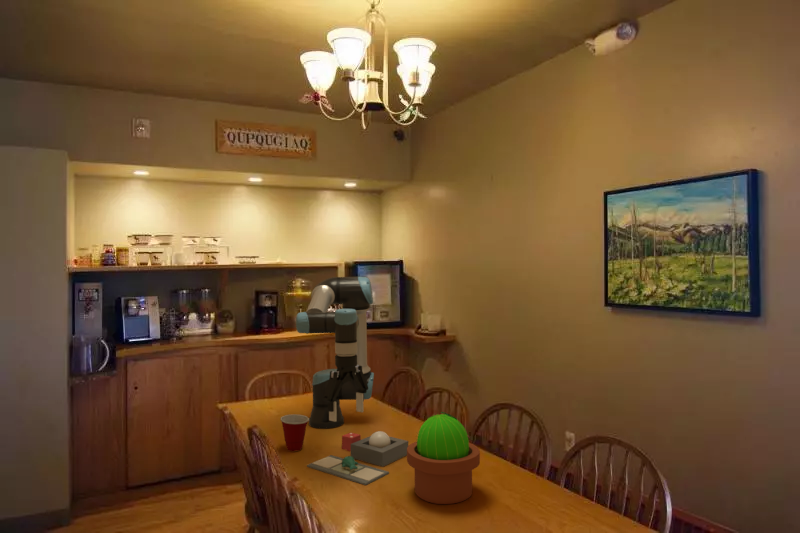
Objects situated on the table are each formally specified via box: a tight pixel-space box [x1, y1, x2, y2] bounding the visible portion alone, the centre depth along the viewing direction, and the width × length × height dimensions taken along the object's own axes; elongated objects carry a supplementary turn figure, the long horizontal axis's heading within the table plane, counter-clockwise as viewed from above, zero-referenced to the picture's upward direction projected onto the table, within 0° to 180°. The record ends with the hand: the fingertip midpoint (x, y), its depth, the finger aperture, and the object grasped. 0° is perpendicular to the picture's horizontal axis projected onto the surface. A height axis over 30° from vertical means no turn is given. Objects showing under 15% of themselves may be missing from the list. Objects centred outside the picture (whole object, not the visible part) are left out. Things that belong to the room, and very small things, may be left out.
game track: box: [306, 454, 390, 486], centre depth 194 cm, size 12×27×1 cm, turn 53°
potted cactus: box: [406, 411, 481, 505], centre depth 175 cm, size 22×22×25 cm
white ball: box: [369, 430, 391, 449], centre depth 207 cm, size 8×8×8 cm
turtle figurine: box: [342, 455, 359, 471], centre depth 193 cm, size 6×7×4 cm
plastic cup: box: [280, 413, 310, 452], centre depth 216 cm, size 11×11×12 cm
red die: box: [341, 432, 362, 452], centre depth 216 cm, size 5×5×5 cm
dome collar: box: [350, 435, 409, 467], centre depth 207 cm, size 15×15×5 cm
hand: (346, 416), depth 194 cm, fingers open, 13 cm apart
